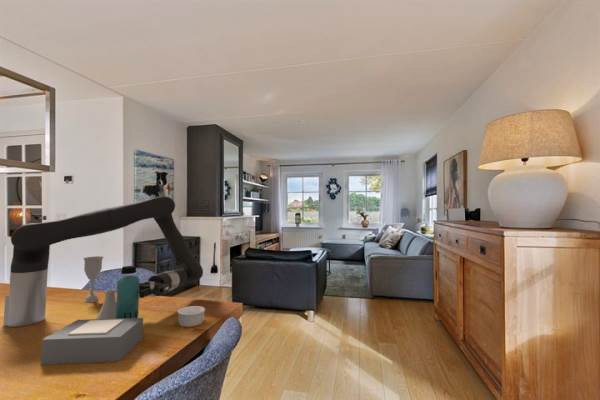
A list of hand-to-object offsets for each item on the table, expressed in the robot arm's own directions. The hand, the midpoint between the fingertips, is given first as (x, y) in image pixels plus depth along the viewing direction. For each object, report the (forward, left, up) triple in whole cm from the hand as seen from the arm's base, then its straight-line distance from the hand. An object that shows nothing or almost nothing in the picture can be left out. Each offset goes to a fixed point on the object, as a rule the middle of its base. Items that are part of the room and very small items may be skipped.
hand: (129, 293), depth 91 cm
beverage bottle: (0, -1, -11) cm, 11 cm away
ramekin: (+19, +3, -11) cm, 22 cm away
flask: (-10, +8, -11) cm, 17 cm away
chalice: (-29, +31, -11) cm, 44 cm away
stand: (-1, -15, -11) cm, 18 cm away
